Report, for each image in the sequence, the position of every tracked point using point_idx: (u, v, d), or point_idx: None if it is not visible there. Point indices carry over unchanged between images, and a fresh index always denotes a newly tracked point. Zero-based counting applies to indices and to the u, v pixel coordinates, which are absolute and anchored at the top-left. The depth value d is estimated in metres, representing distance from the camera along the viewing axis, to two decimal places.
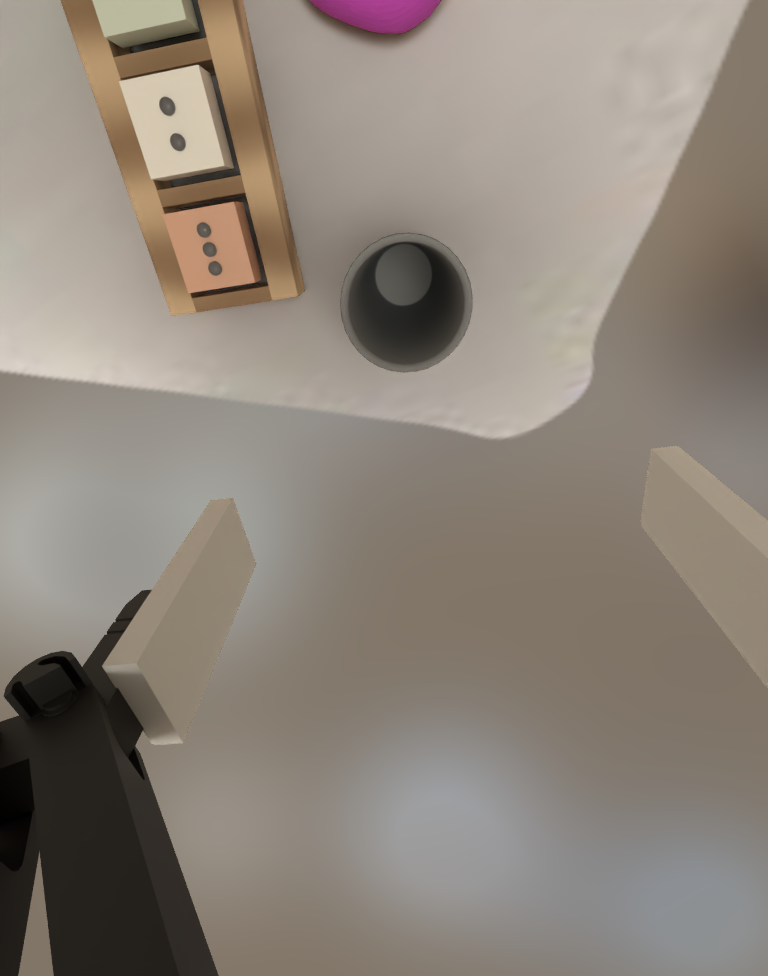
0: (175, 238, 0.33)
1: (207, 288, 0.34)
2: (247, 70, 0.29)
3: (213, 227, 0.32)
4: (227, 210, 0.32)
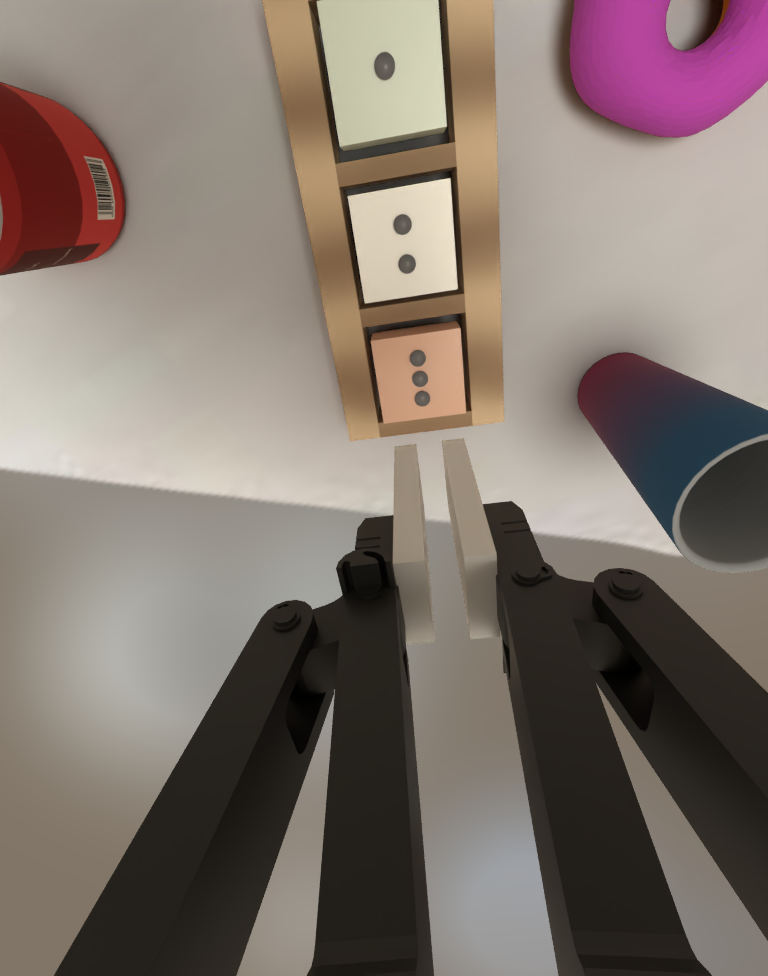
0: (380, 366, 0.27)
1: (407, 418, 0.29)
2: (496, 179, 0.24)
3: (428, 354, 0.27)
4: (450, 337, 0.27)
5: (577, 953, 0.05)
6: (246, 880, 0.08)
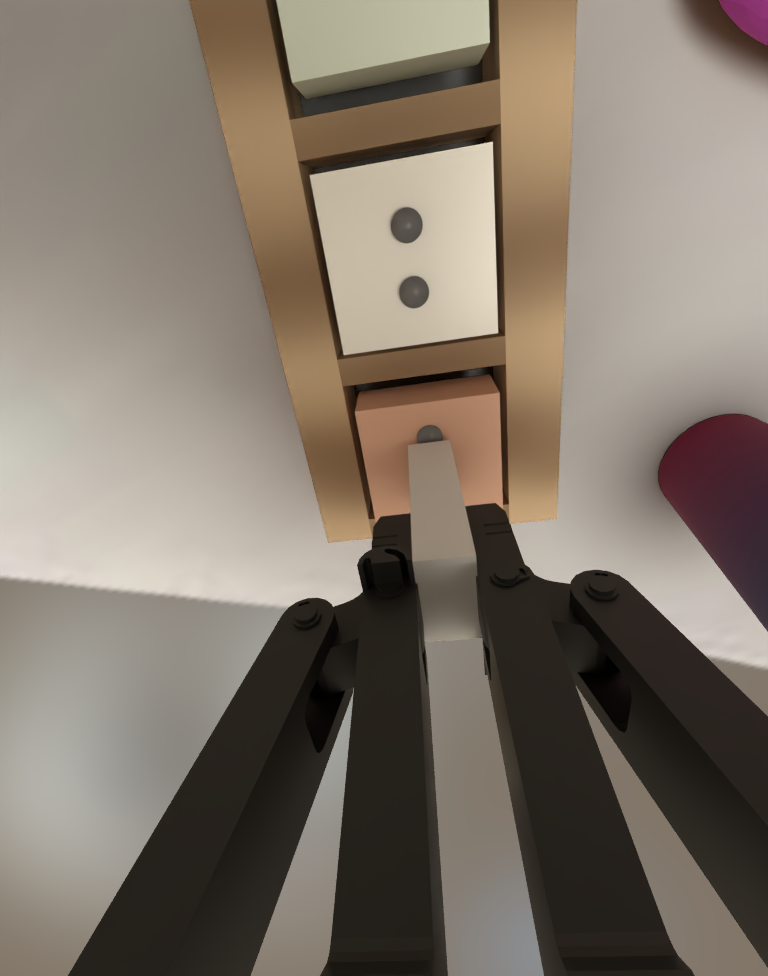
0: (371, 448, 0.17)
1: None
2: (569, 146, 0.14)
3: (447, 432, 0.17)
4: (482, 406, 0.16)
5: (560, 956, 0.05)
6: (263, 878, 0.08)
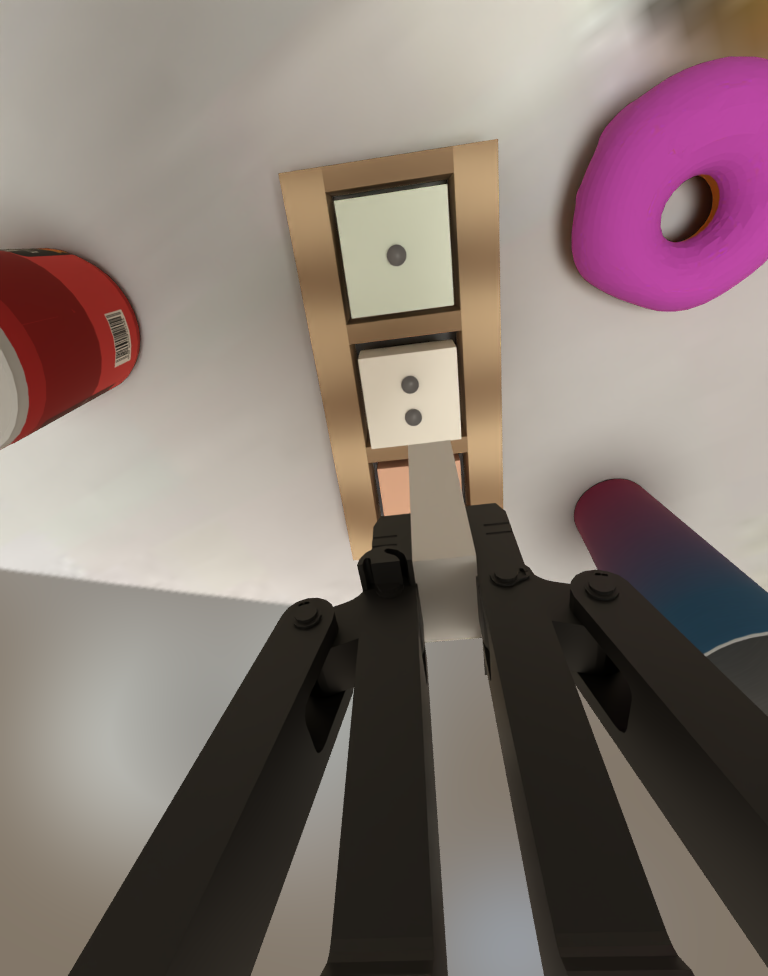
0: (385, 490, 0.30)
1: None
2: (499, 341, 0.25)
3: None
4: None
5: (561, 956, 0.05)
6: (263, 877, 0.08)
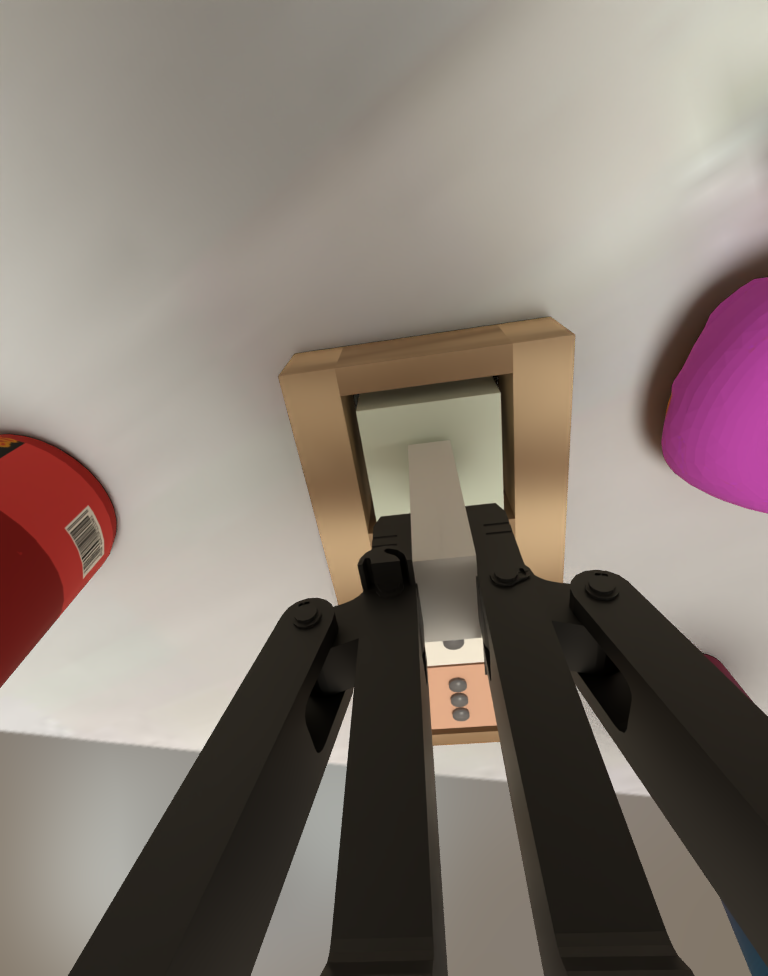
0: None
1: (443, 727, 0.26)
2: (563, 548, 0.20)
3: (470, 681, 0.24)
4: None
5: (560, 956, 0.05)
6: (263, 877, 0.08)
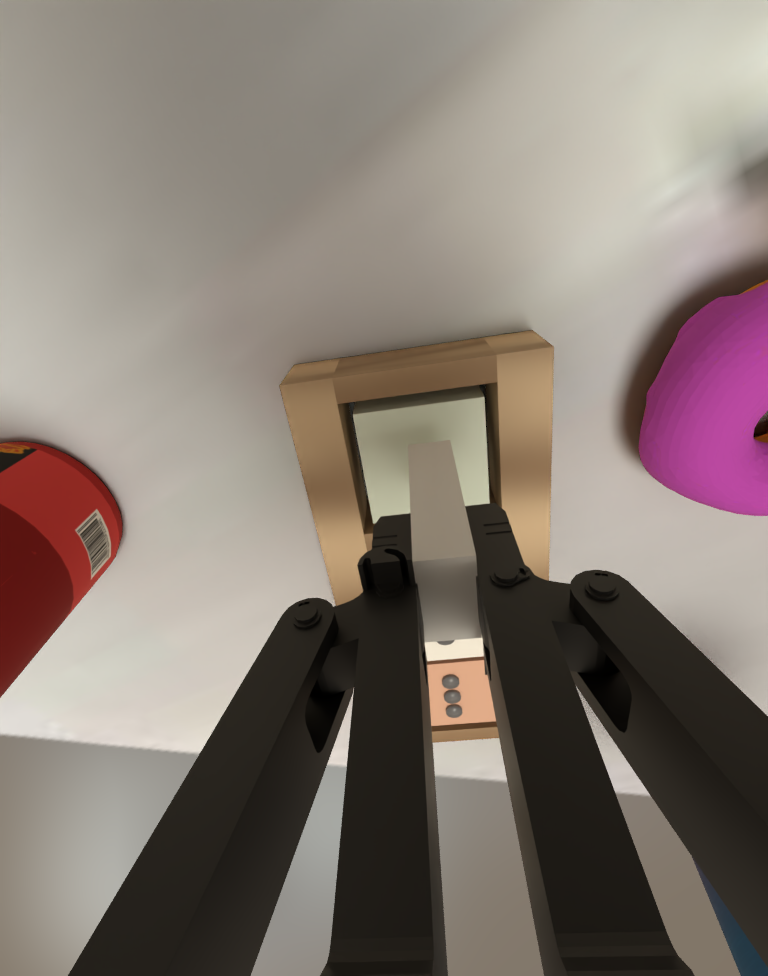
0: None
1: (437, 724, 0.27)
2: (548, 547, 0.21)
3: (462, 678, 0.25)
4: None
5: (561, 956, 0.05)
6: (263, 877, 0.08)
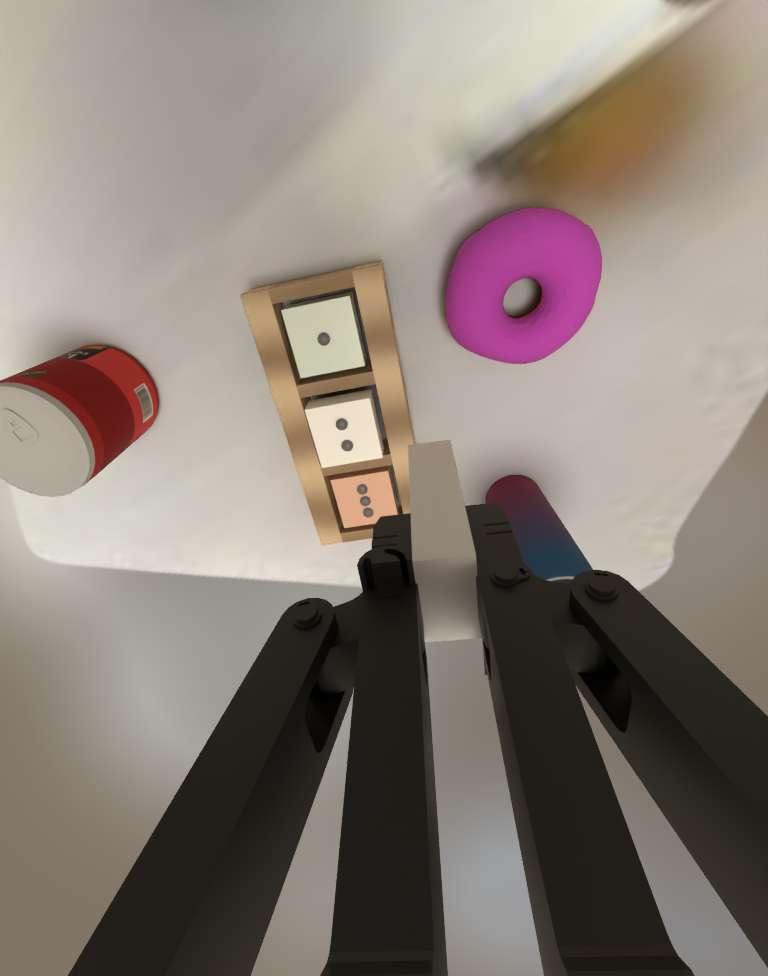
0: (338, 494, 0.41)
1: (360, 524, 0.43)
2: (403, 389, 0.37)
3: (369, 486, 0.41)
4: (382, 476, 0.40)
5: (561, 956, 0.05)
6: (263, 878, 0.08)
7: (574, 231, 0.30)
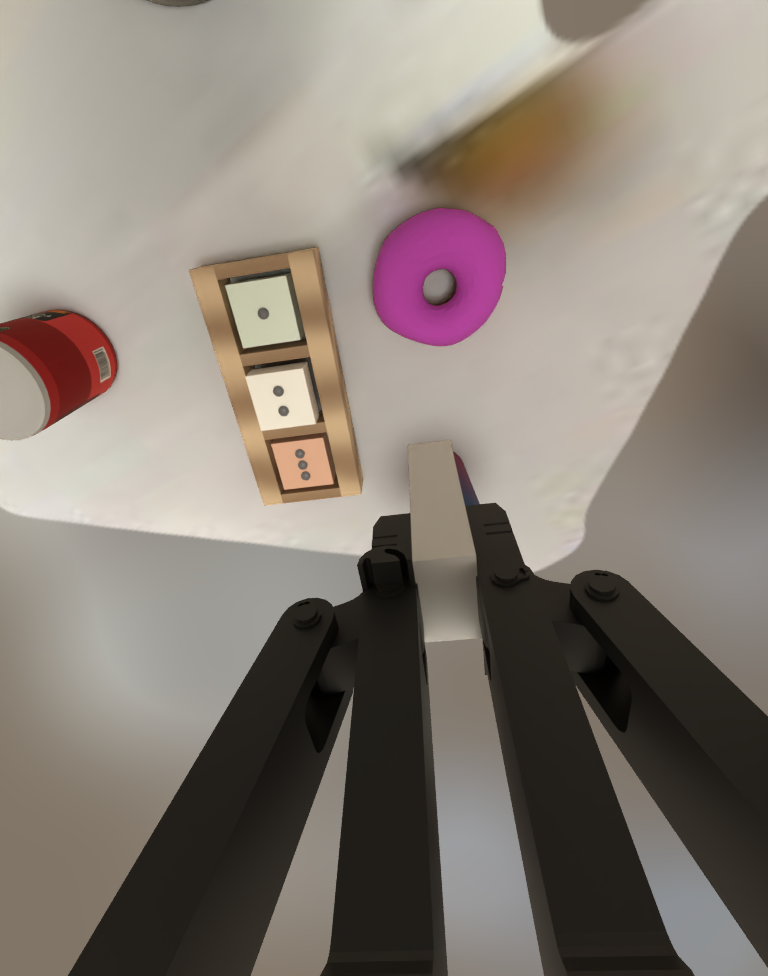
0: (278, 457, 0.46)
1: (298, 487, 0.47)
2: (334, 362, 0.41)
3: (306, 451, 0.45)
4: (317, 442, 0.45)
5: (561, 956, 0.05)
6: (263, 878, 0.08)
7: (478, 230, 0.35)
